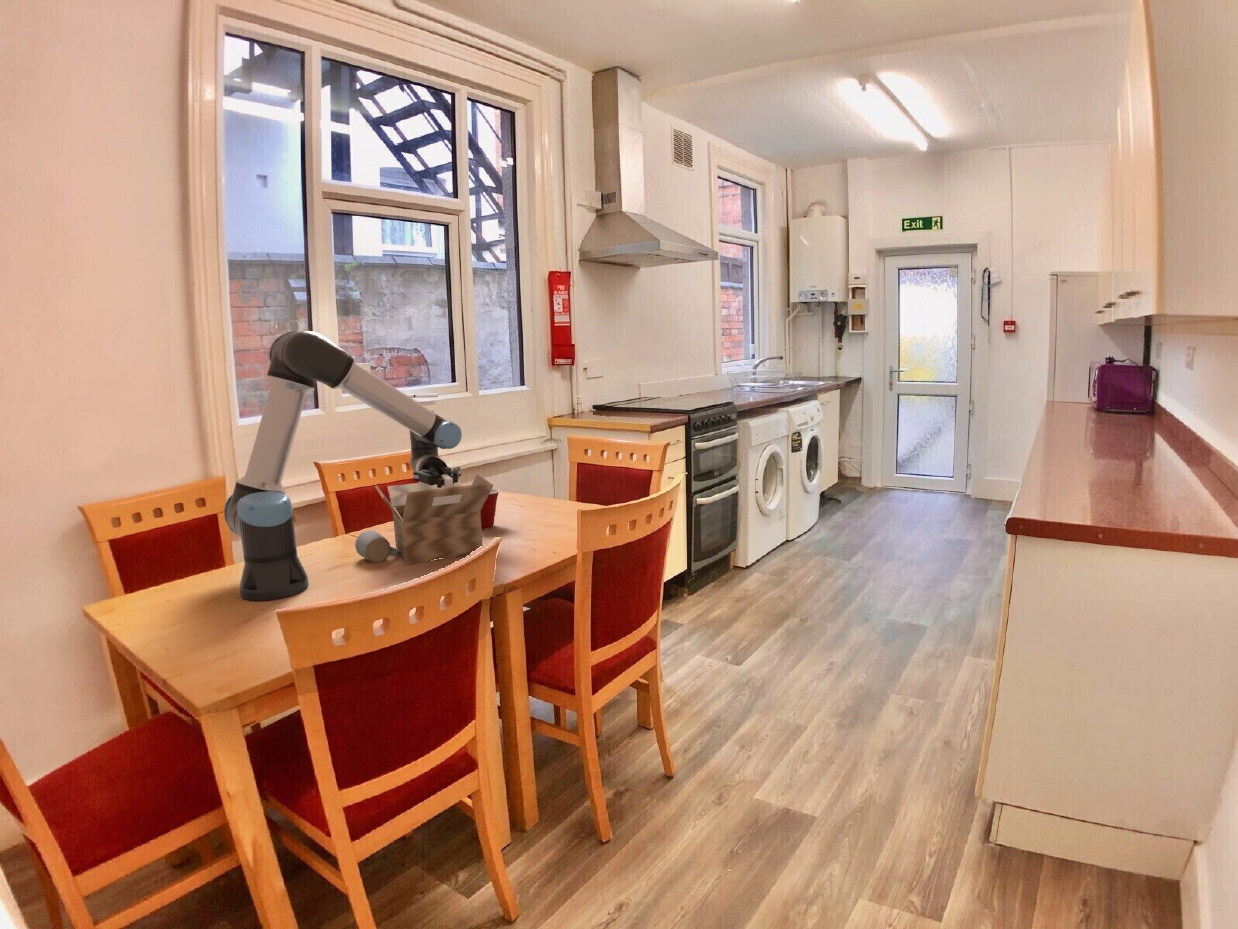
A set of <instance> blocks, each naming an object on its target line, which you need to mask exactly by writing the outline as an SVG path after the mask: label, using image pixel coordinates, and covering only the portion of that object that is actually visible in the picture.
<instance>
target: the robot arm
mask: <svg viewBox="0 0 1238 929" xmlns="http://www.w3.org/2000/svg"><path fill="white" fill-rule="evenodd" d="M268 358H269V367H268V370H267V373H266V378H267V380H268V381H269V384H270V388H269V392H268V395H267V397H266V400H265V401H266V402H265V405H264V409H263V411H262V415H261V418H260V422H259V424H258V425H259V426H258V429H257V433H256V436H255V440H254V443H253V447H252V451H251V453H250V458H249V461H248V464H247V468H246V472H245V475H244V476H242V477H241V478H239V479H236V481H235V484H234V488H233V492H232V494H231V495H230V496H229V497H228V498H227V500H226V502H225V504H224V508H223V516H224V520H225V523H226V524H227V526H228V527H229V528H230V530H231V531H232V532H233V533H235V534H236V535H238V536H239V537H240V539H241V547H242V553H243V561H244V564H243V569H242V574H241V578H240V583H239V594H240V598H241V599H244V600H247V601H254V602H255V601H257V602H259V601H270V600H277V599H282V598H287V597H290V596H294V595H296V594H299V593H300V592H302V591H305V589H307V588H308V587H309V577H308V574H307V572H306V570H305V568H304V566H303V564H302V562H301V560H300V558H299V556H298V551H297V550H298V549H297V541H296V532H295V530H296V529H295V523H294V514H293V512H294V508H293V505H292V500H291V499H290V496H288V495H287V494H286V490H285V487H284V486H283V485H282V482H283V478H284V476H285V471H286V468H287V463H288V461H289V456H290V454H291V452H292V451H291V450H292V447H293V443H294V439H295V437H296V432H297V428H298V426H299V422H300V418H301V416H302V412H303V407H304V404H305V401H306V398H307V396H308V394H310V393H311V392H314V390H315V389H316V386H317V382H319V383H321V384H323V385H325V386H327V387H329V388H330V389H333V390H335V389H339V390H341V391H343V392H345V393H347V394H348V395H350V396H351V397H353V398H355V399H356V400H359V401H361V403H363V404H365V405H367V406H368V407H370V408H372V409H373V410H375V411H377V412H379V413H380V414H382V415H384V416H385V417H386V418H389V419H390V420H392V421H393V422H395V423H397V424H398V425H400V426H402V427H404V428H405V429H407V430H409V441H410V452H411V456H410V460H409V461H410V467H411V469H412V475H413V481H414V482H418V483H425V484H428V485H431V486H433V485H436V484H437V488H442V486H444V487H445V488H452V487H453V484H454V483H457V482H458V478H459V479H460V477H462V472H461V467H460V466H455V467H452V468H451V467H450V466H448V465H447V463H446V462H445V461H444V460H443V459H442V458H441V457H439V449H441V450H451V449H454V448H457V446H458V445H459V444H460V443H461V441H462V437H463V434H462V430H461V427H460V426H459V425H458V424H457V423H456V422H453V421H452V420H446V419H445V418H443V417H442V416H440V415H438V414H436V413H435V411H434V410H431V409H429V408H427V407H426V406H424V405H423V404H421V403H420V402H418V401H417V400H415V399H413V398H411V397H410V396H408V395H407V394H405V393H404V392H403V391H401V390H399V389H397V388H396V387H394V386H393V385H391V384H390V383H388V382H386V381H385V380H383V379H382V378H381V377H379V376H377V375H376V374H374V373H373V372H371V371H369V370H368V369H367V368H364V367H363V366H362V365H360V364H358V363H357V362H356V358H355V356H353V355H352V354H350V353H349V352H347V351H346V350H344V349H343V348H342V347H340V346H339V345H337V344H336V343H335V342H333V341H332V340H330V339H329V338H327V337H326V336H324V335H322V334H320V333H319V332H315V331H312V330H311V331H310V330H302V331H298V330H293V331H292V330H291V331H287V332H284V333H282V334H281V335H279V336H278V337H277V338H275V339H274V340H273V342H272V343H271V345H270V347H269V352H268Z"/></svg>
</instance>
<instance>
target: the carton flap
mask: <svg viewBox="0 0 1238 929" xmlns="http://www.w3.org/2000/svg"><path fill="white" fill-rule="evenodd" d="M490 483H491V482H490ZM490 483H487V484H478V485H472V484H471V485H470V484H469V485H463V486H462V485H461V487H452V488H443V489H435V490H426V491H417V492H408V493H407V498H406V503H405V509H404V514H403V522H404V521H411V520H419V519H427V518H434V517H442V516H450V515H458V514H465V513H473V512H480V509H481V507H482V504H483V502H484V499H485V497H486V494H487V492H488V489H489V487H490Z"/></svg>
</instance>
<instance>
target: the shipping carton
mask: <svg viewBox="0 0 1238 929" xmlns="http://www.w3.org/2000/svg"><path fill="white" fill-rule="evenodd" d="M487 483H490V487H489V489H488V492H487V494H486V497H485V499H484V502H483V504H482V507H481V509H480V511H481V510H482V508H483V505H484V503H485V501H486V499H487V497H488V495H489V493H490V491H491V489H493V486H494V484H492V483H491V482H489V481H488V480H487V479H485V478H484V477H482V476H481V475H480V474H476V475H475V477H474V479H473V482H472V483H471V485H478V484H487ZM461 486H462V484H461V481H460V477H459V478H458V482H457V483H454V484H453V487H461ZM374 487H375V489H376V491H377V492H378V493H379V496H381V498H382V500H383V501H384V503H385V504H386V505H387V506H388V508H389V509H390V510H391V511H392V519H393V529H394V541H395V549H396V548H397V550H399V551H400V553H399V557H400V558H401V560H402V561H404V562H403V563H404V565H405V566H409V565H414V564H415V565H416V564H422V563H421V562H423V563H426V562H425V561H429V562H432V561H431V560H434V559H439V558H449V559H453V558H452V557H455V558H461V557H466V555H469V554H470V553H471V552H472V551H475V550H476V549H477V548H479V547H480V546H483V533H482V532H483V529H481V515H480V512H473V513H465V514H458V515H450V516H442V517H434V518H427V519H419V520H411V521H404V522H403V514H404V509H405V503H406V498H407V493H408V492H417V491H426V490H435V489H443V488H445V487H444V486H442V488H437V484H436V485H433V486H431V485H428V484H425V483H422V482H415V483H405V484H398V485H396V484H395V485H387V491H388V495H389V499H390V501H389V499H388V498H387V497H386V496H385V494H384V493H383V491H382V490H381V489H380V487H379V486H378V484H376V485H375V486H374ZM483 547H484V546H483ZM459 556H460V557H459ZM469 556H470V555H469ZM455 558H454V559H455Z"/></svg>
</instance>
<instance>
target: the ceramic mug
mask: <svg viewBox="0 0 1238 929" xmlns="http://www.w3.org/2000/svg"><path fill="white" fill-rule="evenodd" d="M354 545H355V550H356V553H357V554H358V555H359V556H361V557H362V558H364V559H366V560H367V561H368V562H371V563H375V564H377V563H382V562H384V561H386V559H388V557H390V556H391V557H395V558H397V557H400V554H399V553H400V551H399V550H397V549H396V547H395V548H394V547H393V546H391V544H390V542H389V540H388V539H387V538H386V537H384V536H383V535H381V534H380V533H379V532H377V531H376V530H366V531H363V532H361V533H360V534H358V536H357V537H356V540H355V544H354Z"/></svg>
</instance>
